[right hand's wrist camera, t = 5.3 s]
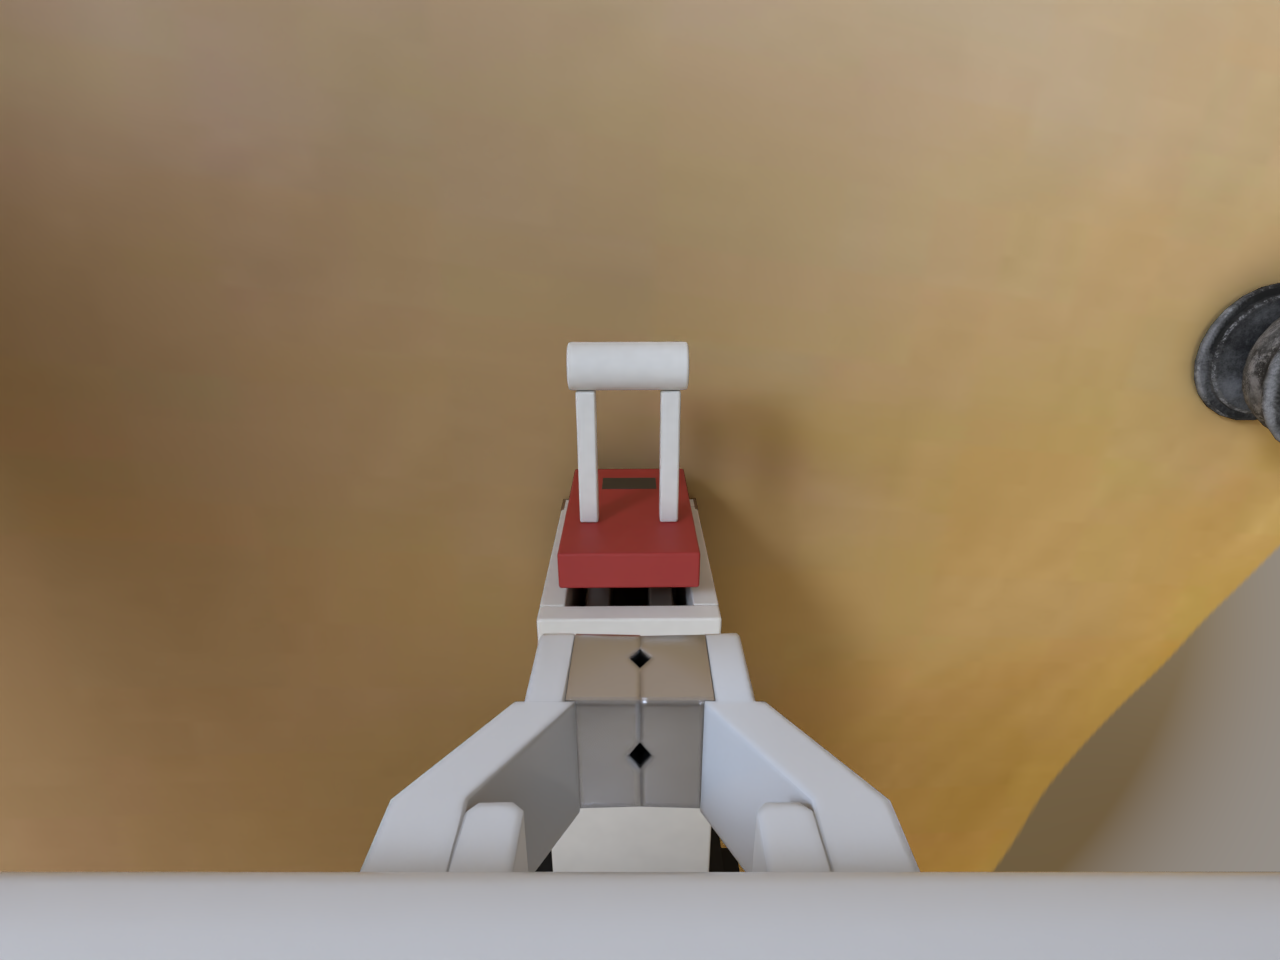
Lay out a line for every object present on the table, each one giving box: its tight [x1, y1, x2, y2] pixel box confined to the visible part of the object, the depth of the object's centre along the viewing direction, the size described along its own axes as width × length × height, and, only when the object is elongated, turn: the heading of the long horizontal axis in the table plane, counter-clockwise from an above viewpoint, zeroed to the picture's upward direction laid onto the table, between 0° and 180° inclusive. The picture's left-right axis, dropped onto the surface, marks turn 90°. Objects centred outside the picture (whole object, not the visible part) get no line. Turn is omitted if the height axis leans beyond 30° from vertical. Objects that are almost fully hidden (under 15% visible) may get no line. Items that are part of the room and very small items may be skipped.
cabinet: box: [537, 499, 722, 872], centre depth 28 cm, size 18×6×9 cm, turn 0°
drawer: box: [557, 342, 700, 606], centre depth 26 cm, size 22×4×7 cm, turn 0°
